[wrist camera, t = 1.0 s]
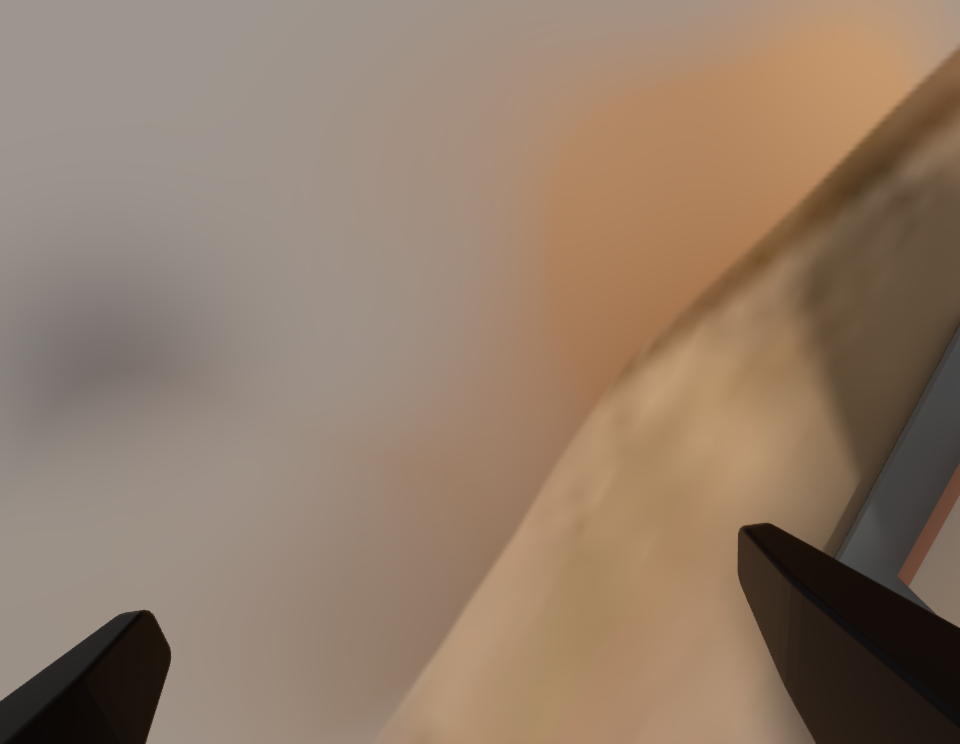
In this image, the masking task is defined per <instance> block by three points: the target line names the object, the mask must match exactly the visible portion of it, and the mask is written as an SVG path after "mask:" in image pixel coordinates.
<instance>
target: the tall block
mask: <svg viewBox="0 0 960 744" xmlns="http://www.w3.org/2000/svg"><path fill="white" fill-rule="evenodd" d="M897 576H898V577H899V578H900V579H901V580H902V581H903V582H904V583H905V584H906V585H907V586H908V587H909V588H910V589H911V590H912V591H913V592H914V593H915V594H916V595H917V596H918V597H919V598H920V599H921V600H922V601H923V602H924V603H925V604H926V605H927V606H928V607H929V608H930V609H931V610H932V611H933V612H935V613H936V614H937V615H938V616H940V617H942V618H943V619H945V620H947V621H949V622H951V623H952V624H954V625H956V626H958V627H960V463H959V465H958V467H957V469H956V470H955V472H954V474H953V476H952V478H951V479H950V481H949V483H948V485H947V487H946V488H945V490H944V492H943V494H942V496H941V498H940V499H939V501H938V503H937V505H936V507H935V508H934V510H933V512H932V514H931V516H930V517H929V519H928V521H927V523H926V525H925V526H924V528H923V530H922V532H921V534H920V535H919V537H918V539H917V541H916V543H915V544H914V546H913V548H912V550H911V552H910V554H909V555H908V557H907V559H906V561H905V563H904V564H903V566H902V568H901V570H900V572H899V573H898V575H897Z"/></svg>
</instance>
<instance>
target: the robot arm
mask: <svg viewBox="0 0 960 744" xmlns="http://www.w3.org/2000/svg"><path fill="white" fill-rule="evenodd" d="M738 576H739V580H740V584H741V586H742V589H743V591H744V594H745V596H746V598H747V601H748V603H749V605H750V608H751V610H752V612H753V614H754V617H755V619H756V621H757V624H758V626H759V628H760V631H761V633H762V635H763V638H764V640H765V642H766V645H767V647H768V649H769V652H770V654H771V656H772V659H773V661H774V663H775V666H776V668H777V670H778V672H779V675H780V677H781V679H782V681H783V683H784V686H785V688H786V690H787V691H788V693H789V695H790V697H791V699H792V701H793V703H794V705H795V707H796V708H797V710H798V712H799V714H800V715H801V717H802V719H803V721H804V723H805V724H806V726H807V728H808V730H809V732H810V733H811V735H812V737H813V739H814V741H815V742H816V744H960V627H958V626H956V625H954V624H952V623H951V622H949V621H947V620H945V619H943V618H942V617H940V616H938V615H936V614H934V613H932V612H931V611H929V610H927V609H925V608H923V607H922V606H920V605H918V604H916V603H914V602H912V601H911V600H909V599H907V598H905V597H903V596H902V595H900V594H898V593H896V592H894V591H893V590H891V589H889V588H887V587H885V586H883V585H882V584H880V583H878V582H876V581H874V580H873V579H871V578H869V577H867V576H865V575H863V574H862V573H860V572H858V571H856V570H854V569H853V568H851V567H849V566H847V565H845V564H844V563H842V562H840V561H838V560H836V559H834V558H833V557H831V556H829V555H827V554H825V553H824V552H822V551H820V550H818V549H816V548H814V547H813V546H811V545H809V544H807V543H805V542H804V541H802V540H800V539H798V538H796V537H795V536H793V535H791V534H789V533H787V532H785V531H784V530H782V529H780V528H778V527H776V526H775V525H772V524H770V523H759V524H752V525H745V526H743V527H741V528H740V530H739V533H738ZM170 662H171V650H170V647H169V644H168V642H167V640H166V638H165V636H164V634H163V632H162V630H161V628H160V626H159V624H158V622H157V620H156V618H155V616H154V615H153V614H152V613H151V612H150V611H147V610H140V611H133V612H126V613H122V614H120V615H118V616H116V617H115V618H113V619H112V620H111V621H109V622H108V623H107V624H105V625H104V626H102V627H101V628H100V629H99V630H97V631H96V632H94V633H93V634H91V635H90V636H89V637H87V638H86V639H85V640H83V641H82V642H81V643H79V644H78V645H76V646H75V647H74V648H72V649H71V650H70V651H69V652H67V653H66V654H64V655H63V656H62V657H60V658H59V659H57V660H56V661H55V662H53V663H52V664H51V665H49V666H48V667H46V668H45V669H44V670H42V671H41V672H40V673H38V674H37V675H36V676H34V677H33V678H31V679H30V680H29V681H27V682H26V683H25V684H23V685H22V686H20V687H19V688H18V689H16V690H15V691H14V692H12V693H11V694H10V695H8V696H7V697H5V698H4V699H3V700H1V701H0V744H146V741H147V737H148V734H149V731H150V727H151V724H152V721H153V718H154V715H155V711H156V708H157V705H158V702H159V699H160V696H161V692H162V689H163V686H164V683H165V679H166V676H167V673H168V670H169V666H170Z"/></svg>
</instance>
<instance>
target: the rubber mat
mask: <svg viewBox="0 0 960 744" xmlns="http://www.w3.org/2000/svg"><path fill="white" fill-rule="evenodd" d="M959 463H960V325H959V327H958V329H957V330H956V332H955V334H954V336H953V338H952V340H951V342H950V344H949V345H948V347H947V349H946V351H945V353H944V355H943V357H942V359H941V360H940V362H939V364H938V366H937V368H936V370H935V372H934V373H933V375H932V377H931V379H930V381H929V383H928V385H927V387H926V388H925V390H924V392H923V394H922V396H921V398H920V400H919V402H918V403H917V405H916V407H915V409H914V411H913V413H912V415H911V417H910V418H909V420H908V422H907V424H906V426H905V428H904V430H903V431H902V433H901V435H900V437H899V439H898V441H897V443H896V445H895V446H894V448H893V450H892V452H891V454H890V456H889V458H888V460H887V461H886V463H885V465H884V467H883V469H882V471H881V473H880V475H879V476H878V478H877V480H876V482H875V484H874V486H873V488H872V489H871V491H870V493H869V495H868V497H867V499H866V501H865V503H864V504H863V506H862V508H861V510H860V512H859V514H858V516H857V518H856V519H855V521H854V523H853V525H852V527H851V529H850V531H849V533H848V534H847V536H846V538H845V540H844V542H843V544H842V546H841V548H840V549H839V551H838V553H837V555H836V557H835V559H836V560H838V561H840V562H842V563H844V564H845V565H847V566H849V567H851V568H853V569H854V570H856V571H858V572H860V573H862V574H863V575H865V576H867V577H869V578H871V579H873V580H874V581H876V582H878V583H880V584H882V585H883V586H885V587H887V588H889V589H891V590H893V591H894V592H896V593H898V594H900V595H902V596H903V597H905V598H907V599H909V600H911V601H912V602H914V603H916V604H918V605H920V606H922V607H923V608H925V609H927V610H929V611H931V612H932V613H934V614H936V613H935V612H933V611H932V610H931V609H930V608H929V607H928V606H927V605H926V604H925V603H924V602H923V601H922V600H921V599H920V598H919V597H918V596H917V595H916V594H915V593H914V592H913V591H912V590H911V589H910V588H909V587H908V586H907V585H906V584H905V583H904V582H903V581H902V580H901V579H900V578H899V577H898V576H897V575H898V573H899V572H900V570H901V568H902V566H903V564H904V563H905V561H906V559H907V557H908V555H909V554H910V552H911V550H912V548H913V546H914V544H915V543H916V541H917V539H918V537H919V535H920V534H921V532H922V530H923V528H924V526H925V525H926V523H927V521H928V519H929V517H930V516H931V514H932V512H933V510H934V508H935V507H936V505H937V503H938V501H939V499H940V498H941V496H942V494H943V492H944V490H945V488H946V487H947V485H948V483H949V481H950V479H951V478H952V476H953V474H954V472H955V470H956V469H957V467H958V465H959ZM936 615H937V614H936Z"/></svg>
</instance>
